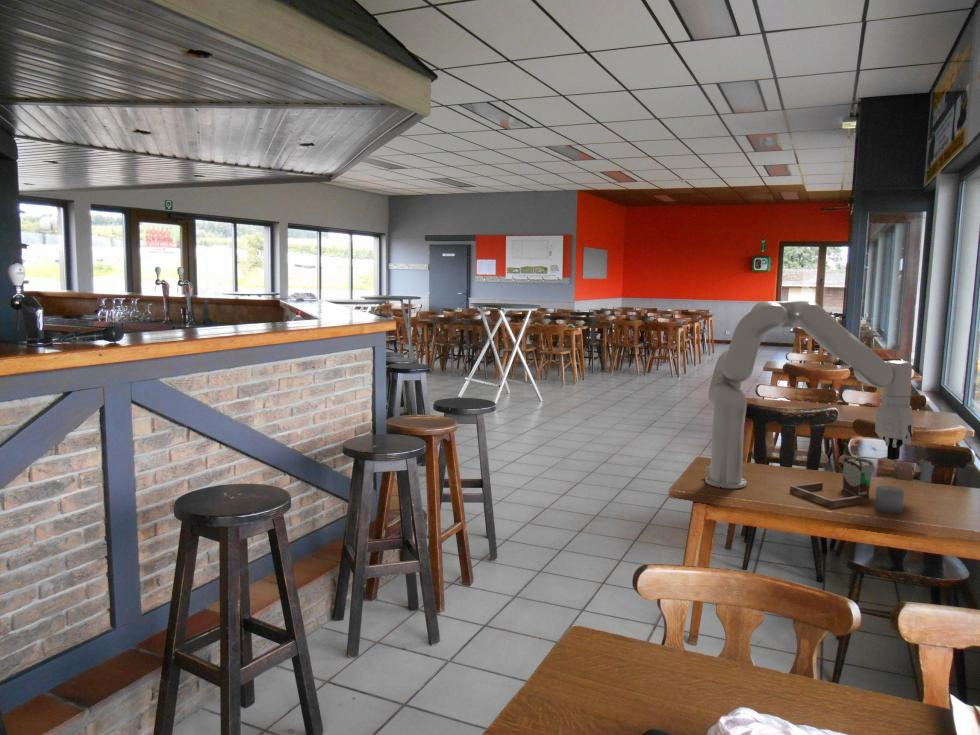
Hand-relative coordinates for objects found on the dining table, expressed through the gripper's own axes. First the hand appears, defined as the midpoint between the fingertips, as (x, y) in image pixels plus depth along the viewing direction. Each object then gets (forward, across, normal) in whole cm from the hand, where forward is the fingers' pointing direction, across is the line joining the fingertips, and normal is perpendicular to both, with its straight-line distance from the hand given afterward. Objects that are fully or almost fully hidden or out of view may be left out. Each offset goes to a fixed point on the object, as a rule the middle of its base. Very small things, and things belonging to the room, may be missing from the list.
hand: (893, 458), depth 226 cm
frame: (+9, 0, -27) cm, 28 cm away
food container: (+10, 0, -13) cm, 16 cm away
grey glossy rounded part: (+9, +15, -19) cm, 26 cm away
